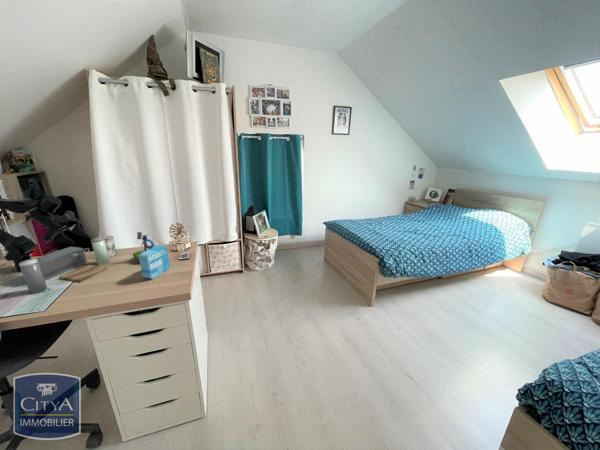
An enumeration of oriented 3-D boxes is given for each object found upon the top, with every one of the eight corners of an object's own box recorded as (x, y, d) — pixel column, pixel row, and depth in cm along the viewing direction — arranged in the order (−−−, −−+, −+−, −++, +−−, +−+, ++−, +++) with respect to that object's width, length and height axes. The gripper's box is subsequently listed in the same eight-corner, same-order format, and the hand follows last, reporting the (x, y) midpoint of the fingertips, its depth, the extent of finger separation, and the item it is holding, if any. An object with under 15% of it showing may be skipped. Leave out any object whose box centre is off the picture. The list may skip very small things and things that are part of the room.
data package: (151, 280, 110) (146, 255, 106) (142, 279, 111) (137, 254, 107) (170, 267, 121) (166, 245, 117) (162, 266, 122) (158, 244, 118)
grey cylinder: (26, 292, 100) (15, 263, 96) (41, 286, 104) (31, 258, 100) (35, 294, 99) (24, 265, 94) (50, 287, 103) (40, 259, 99)
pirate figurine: (165, 252, 138) (161, 226, 134) (161, 261, 127) (156, 234, 122) (137, 255, 134) (131, 229, 129) (130, 265, 123) (124, 237, 118)
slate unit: (25, 280, 108) (18, 264, 106) (74, 260, 127) (69, 246, 124) (40, 283, 106) (34, 266, 104) (87, 262, 125) (83, 248, 122)
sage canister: (94, 264, 123) (88, 240, 119) (104, 260, 128) (98, 236, 124) (102, 265, 122) (96, 241, 118) (112, 261, 127) (106, 237, 123)
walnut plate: (59, 278, 110) (59, 276, 110) (87, 266, 121) (86, 264, 121) (80, 282, 108) (80, 280, 107) (106, 269, 119) (106, 267, 118)
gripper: (42, 212, 105) (79, 235, 110) (71, 202, 122) (101, 222, 128) (26, 230, 106) (63, 252, 111) (57, 218, 123) (88, 237, 129)
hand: (80, 240), depth 120 cm, fingers open, 9 cm apart
